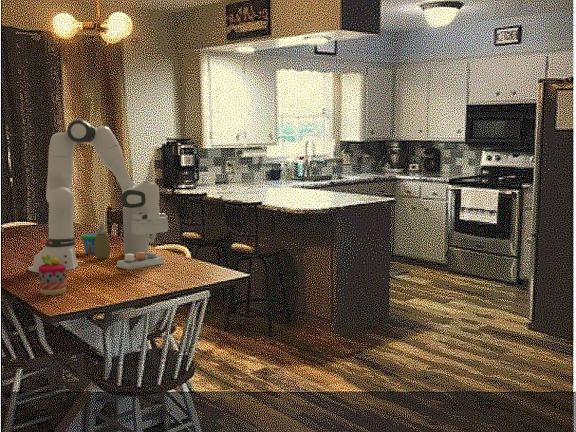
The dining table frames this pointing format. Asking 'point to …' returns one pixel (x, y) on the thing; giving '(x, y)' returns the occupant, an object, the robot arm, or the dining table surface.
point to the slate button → (151, 255)
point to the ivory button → (129, 257)
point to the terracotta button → (140, 255)
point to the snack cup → (89, 242)
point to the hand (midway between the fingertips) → (150, 242)
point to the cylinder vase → (132, 241)
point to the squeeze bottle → (102, 243)
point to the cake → (52, 277)
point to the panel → (140, 263)
